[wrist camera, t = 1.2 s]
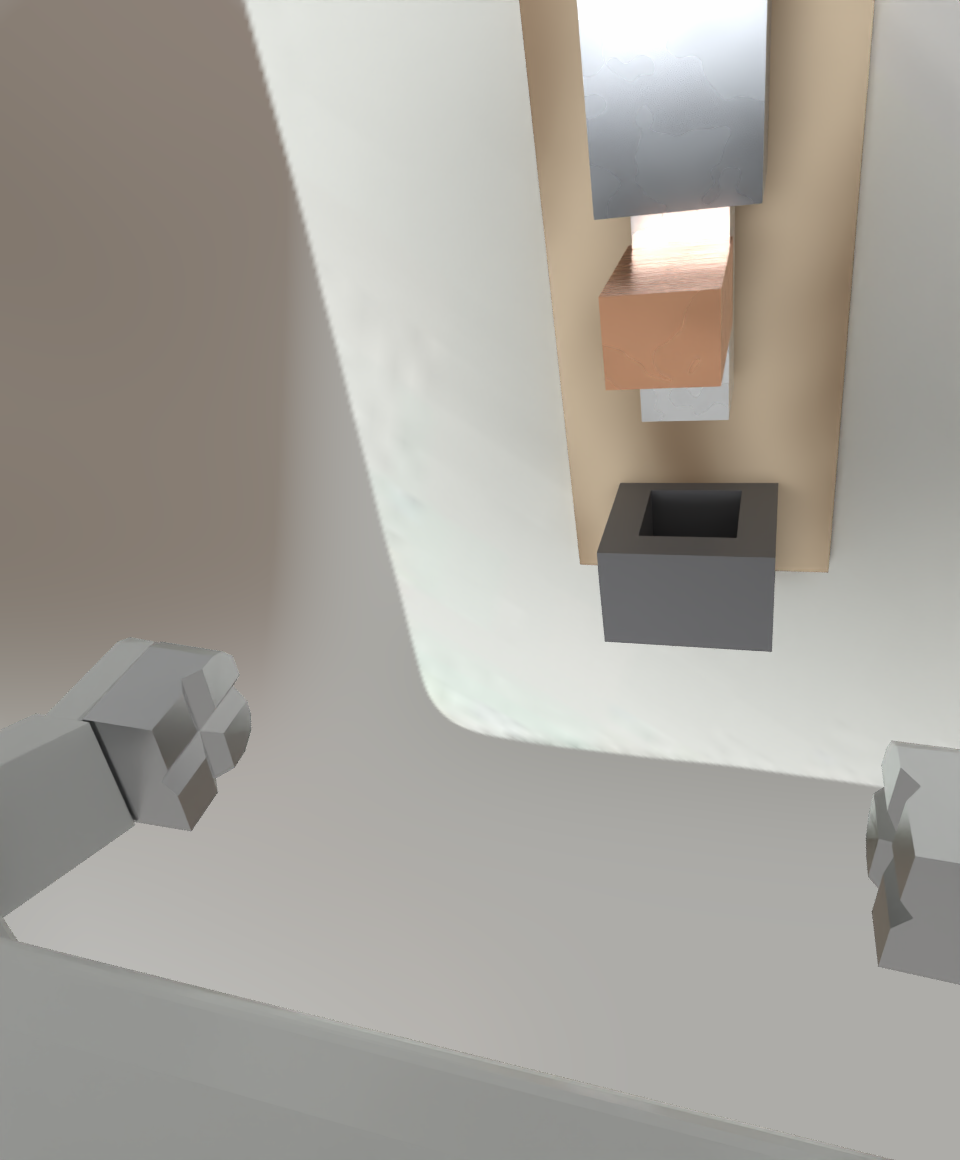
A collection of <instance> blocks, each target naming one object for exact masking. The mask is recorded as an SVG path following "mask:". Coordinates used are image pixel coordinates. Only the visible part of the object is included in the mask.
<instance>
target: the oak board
mask: <svg viewBox="0 0 960 1160" xmlns="http://www.w3.org/2000/svg"><path fill="white" fill-rule="evenodd" d="M874 2H875V0H772V7H771V45H770V83H769V121H768V159H767V175H766V182H765V189H764V195H763V202H762V203H760V204H750V205H740V206H735V302H734V389H733V395H732V402H731V408H730V415H729V420H701V421H656V422H642V417H641V398H640V389H633V390H606V388H605V375H604V363H603V350H602V337H601V324H600V312H599V299H598V297H599V295H600V294H601V292H602V290H603V289H604V287H605V285H606V283H607V282H608V280H609V278H610V277H611V275H612V273H613V271H614V270H615V268H616V266H617V265H618V263H619V261H620V259H621V258H622V256H623V254H624V253H625V251H626V249H627V247H628V246H629V245H632V236H631V218H630V217H619V218H609V219H599V220H594V215H593V202H592V189H591V176H590V163H589V150H588V138H587V125H586V112H585V99H584V86H583V73H582V60H581V47H580V34H579V21H578V9H577V0H519V3H520V13H521V22H522V31H523V40H524V50H525V59H526V68H527V77H528V86H529V96H530V105H531V114H532V123H533V133H534V142H535V151H536V160H537V170H538V179H539V188H540V197H541V207H542V216H543V225H544V234H545V244H546V253H547V262H548V271H549V281H550V290H551V299H552V308H553V317H554V327H555V336H556V345H557V354H558V364H559V373H560V382H561V391H562V401H563V410H564V419H565V428H566V438H567V447H568V456H569V465H570V475H571V484H572V493H573V502H574V512H575V521H576V530H577V539H578V549H579V558H580V564H583V565H598V563H597V550H598V547H599V544H600V541H601V538H602V535H603V532H604V529H605V526H606V523H607V521H608V518H609V515H610V512H611V509H612V506H613V503H614V500H615V497H616V494H617V491H618V488H619V485H620V483H778V507H777V532H776V558H775V571H799V572H828V569H829V556H830V544H831V532H832V519H833V507H834V495H835V482H836V470H837V458H838V445H839V433H840V421H841V408H842V396H843V384H844V371H845V359H846V347H847V334H848V322H849V310H850V298H851V285H852V273H853V261H854V248H855V236H856V224H857V211H858V199H859V187H860V174H861V162H862V150H863V137H864V125H865V113H866V100H867V88H868V76H869V63H870V51H871V39H872V26H873V14H874Z"/></svg>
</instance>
